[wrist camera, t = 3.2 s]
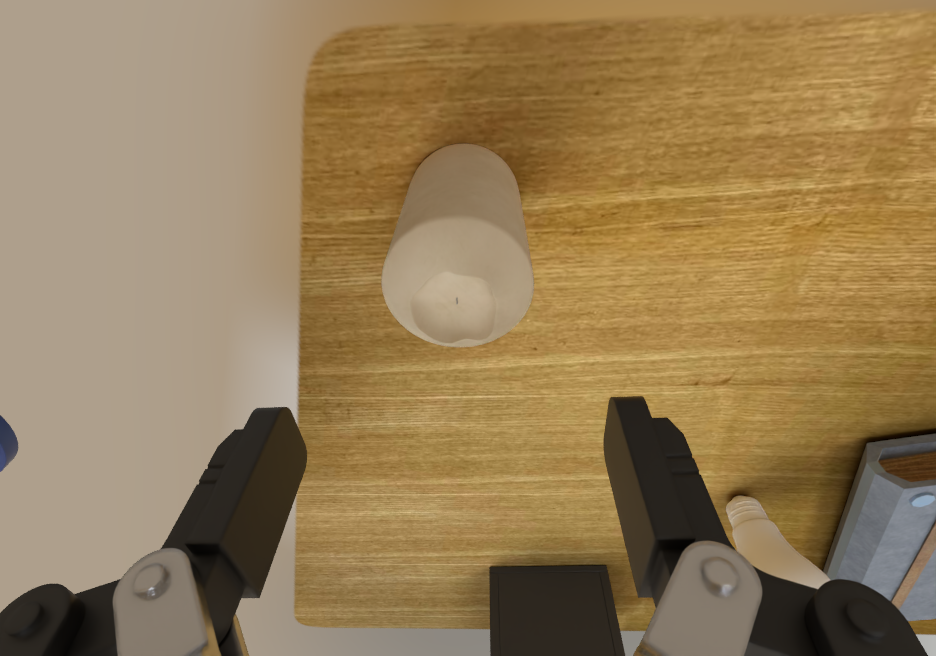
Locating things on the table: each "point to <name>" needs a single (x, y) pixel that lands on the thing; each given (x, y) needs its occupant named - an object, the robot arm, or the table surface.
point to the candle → (460, 250)
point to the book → (892, 526)
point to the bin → (553, 612)
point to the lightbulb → (769, 544)
